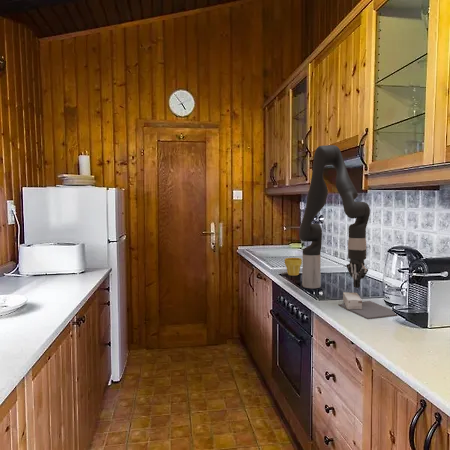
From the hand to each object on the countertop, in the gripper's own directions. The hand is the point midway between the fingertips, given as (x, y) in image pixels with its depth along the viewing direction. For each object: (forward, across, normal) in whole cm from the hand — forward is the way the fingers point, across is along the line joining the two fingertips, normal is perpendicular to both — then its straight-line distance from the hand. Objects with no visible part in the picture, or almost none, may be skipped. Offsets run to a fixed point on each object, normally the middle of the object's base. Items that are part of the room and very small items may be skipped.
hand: (356, 287), depth 166 cm
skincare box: (+5, -3, -1) cm, 6 cm away
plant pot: (+8, -69, +3) cm, 69 cm away
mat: (+8, +8, 0) cm, 11 cm away
